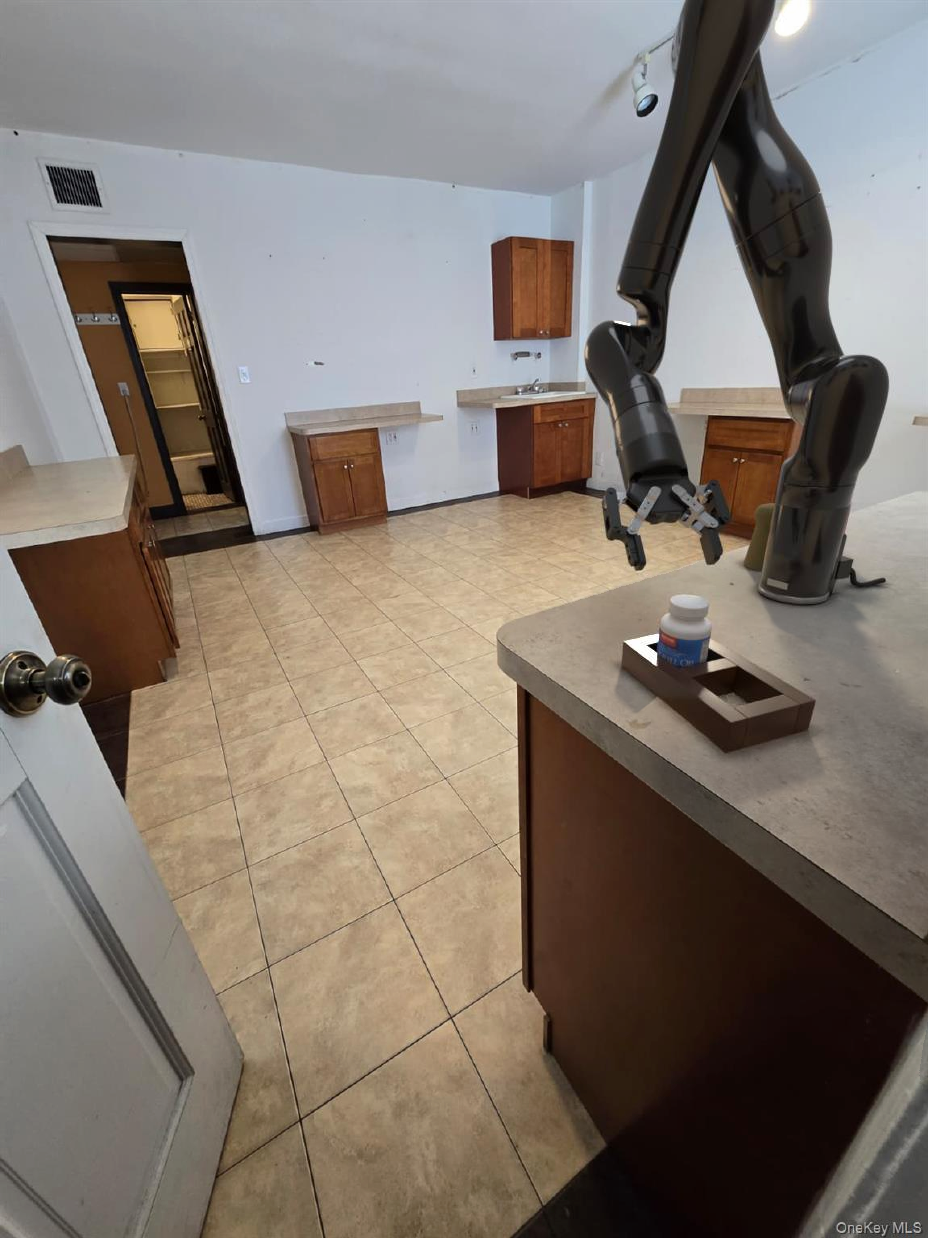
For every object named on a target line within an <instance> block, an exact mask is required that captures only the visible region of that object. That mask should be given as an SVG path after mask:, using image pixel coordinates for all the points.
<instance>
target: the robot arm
mask: <svg viewBox="0 0 928 1238" xmlns="http://www.w3.org/2000/svg"><path fill="white" fill-rule="evenodd" d="M776 1H777V0H684V2H683V5H682V7H681V11H680V13H679V17H678V20H677V24H676V28H675V30H674V34H673V37H672V38H673V39H672V42H671V49H670V64H671V65H670V66H671V67H670V68H671V73H672V76H673V86H672V92H671V98H670V102H669V105H668V109H667V114H666V118H665V122H664V126H663V130H662V133H661V137H660V141H659V144H658V147H657V150H656V154H655V157H654V159H653V163H652V166H651V169H650V172H649V175H648V178H647V181H646V183H645V187H644V190H643V192H642V195H641V199H640V201H639V205H638V208H637V210H636V213H635V216H634V220H633V222H632V226H631V230H630V233H629V236H628V239H627V244H626V247H625V251H624V254H623V258H622V261H621V265H620V269H619V273H618V277H617V279H616V285H615V292H616V295H617V296H618V297H619V298H620V299H621V300H623V301H625V302H626V303H628V304H630V305H631V306H632V307H633V308H634V310H635V317H636V324H633V323H628V322H623V321H619V320H612V319H611V320H609V319H608V320H604V321H602V322H600V323H598V324H597V325H595V327H594V328H593V329H592V330H591V331H590V333H589V335H588V337H587V339H586V341H585V346H584V350H583V351H584V353H583V359H584V360H583V361H584V366H585V371H587V375H588V377H589V379H590V381H591V383H592V384H593V387H594V388H595V390H596V391H597V393H598V394H599V396H600V398H601V400H602V401H603V402H604V403H605V405H606V407H607V409H608V411H609V417H610V421H611V425H612V430H613V436H614V438H613V439H614V448H615V456H616V458H617V461H618V464H619V465H618V466H619V470H620V474H621V478H622V483H623V486H624V489H625V491H617V489H616V488H615V487H607V489H606V491H605V493H604V495H603V498H602V500H601V508H602V517H603V523H604V530H605V537H606V539H607V540H608V541H611V542H613V541H620V542H622V543H623V545H624V549H625V554H626V558H627V563H628V565H629V566H630V567H631V568H632V567H633V568H634V571H635V572H639V571H643V570H644V568H645V567H646V566H647V557H646V553H645V549H644V545H643V541H642V537H641V534H638V532H639V530H640V529H641V528H642V525H643V523H644V522H646V523H649V524H650V525H651V526H654V525H658V524H661V523H666V524H676V523H677V522H679V523H680V524H681V525H682V526H683V527H685V528H686V529H691V530H693V531H694V532H695V533H696V534H698V535H699V543H700V546H701V551H702V553H703V557H704V561H705V564H706V565H707V566H711V565H712V566H714V565H715V564H717V563H718V562H719V560H720V559H721V556H722V555H724V548H723V544H722V541H721V538H720V534H719V533H721V532H722V531H723V530H724V529H725V527H727V526H728V524H729V523H731V521H732V520H733V516H732V514H731V511H730V508H729V506H728V503H727V501H726V498H725V495H724V493H723V489H722V487H721V484H720V482H719V481H718V480H717V479H714V478H711V479H710V480H709V481H708V483H706V484H705V483H704V484H699V485H695V484H694V483H693V482H692V481H691V479H690V476H689V468H688V464H687V460H686V457H685V454H684V450H683V447H682V442H681V440H680V436H679V432H678V430H677V429H678V428H677V426H676V423H675V420H674V418H673V416H672V414H671V412H670V410H669V409H670V408H669V406H668V403H667V399H666V396H665V391H664V389H663V386H662V383H661V381H660V379H659V378H658V377H656V376H655V374H656V373H657V371H658V370H659V368H660V366H661V365H662V362H663V359H664V355H665V351H666V345H667V334H668V321H669V320H668V319H669V313H670V312H669V311H670V301H671V293H672V288H673V285H674V282H675V278H676V276H677V274H678V270H679V266H680V264H681V261H682V257H683V253H684V252H685V248H686V245H687V241H688V239H689V234H690V233H691V228H692V225H693V221H694V218H695V215H696V213H697V208H698V205H699V202H700V199H701V195H702V191H703V188H704V185H705V182H706V178H707V175H708V172H709V169H710V166H711V167H712V170H713V173H714V178H715V181H716V185H717V189H718V193H719V196H720V200H721V203H722V206H723V210H724V213H725V217H726V220H727V223H728V226H729V230H730V233H731V236H732V237H731V238H732V240H733V243H734V246H735V250H736V253H737V255H738V259H739V262H740V264H741V267H742V270H743V273H744V276H745V278H746V280H747V283H748V285H749V288H750V290H751V291H750V292H751V294H752V296H753V299H754V302H755V305H756V308H757V311H758V313H759V317H760V319H761V321H762V324H763V327H764V329H765V331H766V334H767V337H768V339H769V342H770V346H771V349H772V353H773V357H774V361H775V368H776V371H777V376H778V381H779V387H780V392H781V396H782V400H783V401H782V402H783V405H784V408H785V410H786V411H785V412H786V413H787V415H788V417H790V419H791V420H792V421H793V422H794V423H795V424H797V425H798V426H800V427H802V431H801V435H800V438H799V442H798V446H797V449H796V451H795V452H794V453H793V454H792V456H790V457H789V458H787V459H785V460H784V461H783V462H782V465H781V468H780V472H779V478H778V482H777V483H778V484H777V488H776V493H775V494H776V495H775V499H774V503H775V504H774V510H773V515H772V520H771V526H770V531H769V536H768V541H767V547H766V552H765V557H764V562H763V567H762V571H761V573H760V578H759V581H758V586H757V591H758V592H759V594H760V595H762V596H764V597H765V598H768V599H771V600H773V601H777V602H781V603H785V604H786V603H787V604H792V605H793V604H794V605H815V604H816V605H817V604H821V603H824V602H826V601H827V600H828V599H829V597H830V596H832V595H833V594H834V590H835V585H836V582H837V580H838V581H839V580H844V579H849V582H850V584H851V585H852V586H854V587H856V588H869V587H873V586H876V585H881V584H885V583H886V582H887V579H886V578H885V577H879V578H875V579H871V580H869V581H865V582H861V581H858V580H857V579H858V578H857V573H856V570H855V569H854V568H853V564H854V558H850V557H847V556H844V555H843V554H844V551H845V547H846V543H847V539H848V535H847V534H846V533H844V530H845V526H846V522H847V518H848V519H849V517H848V514H849V515H850V513H849V510H850V511H851V508H850V506H851V507H852V503H851V501H852V500H853V497H854V493H855V487H856V485H857V480H858V477H859V474H860V472H861V470H862V469H863V467H864V466H865V465H866V463H867V462H868V460H869V458H870V456H871V454H872V452H873V449H874V446H875V442H876V439H877V437H878V436H877V435H878V432H879V429H880V426H881V423H882V420H883V416H884V413H885V409H886V406H887V403H888V397H889V392H890V376H889V372H888V369H887V367H886V365H885V364H884V363H883V362H882V360H880V359H878V358H877V357H875V356H872V355H869V354H845V353H844V351H843V349H842V347H841V345H840V341H839V339H838V337H837V334H836V330H835V327H834V324H833V320H832V318H831V317H832V316H831V311H830V303H829V301H830V299H829V298H830V283H831V275H832V267H833V266H832V265H833V251H834V249H833V246H834V245H833V233H832V228H831V223H830V222H831V221H830V219H829V215H828V212H827V208H826V204H825V201H824V197H823V194H822V192H821V191H822V190H821V187H820V184H819V181H818V179H817V176H816V174H815V172H814V170H813V168H812V167H811V165H810V164H809V162H808V159H807V157H805V155H804V154H803V152H802V151H801V149H800V148H799V147H798V146H797V144H796V143H795V141H794V140H793V139H792V137H791V136H790V134H789V133H788V132H787V131H786V130H785V127H783V124H781V121H780V120H779V118H778V115H777V114H776V111H775V109H774V105H773V102H772V100H771V97H770V93H769V92H770V91H769V89H768V83H767V79H766V75H765V71H764V67H763V62H762V61H763V60H762V56H761V49H760V48H761V45H762V43H763V42H764V40H765V38H766V36H767V34H768V31H769V28H770V26H771V22H772V19H773V17H774V12H775V10H776V9H775V8H776ZM695 498H697V499H698V500H696V499H695ZM623 504H624V505H626V506H627V507H628V508H629V509H630V510H632V511H633V512H634V513H635V515H634V516H633V518H632V520H631V521H630V523H629V525H628V526H627V525H622V519H621V513H620V509H621V507H622V505H623ZM688 511H690V513H691V514H690V515H689V514H688V513H687V512H688ZM847 523H848V522H847ZM846 527H847V526H846ZM845 531H846V530H845Z"/></svg>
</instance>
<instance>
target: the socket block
mask: <svg viewBox="0 0 928 1238" xmlns="http://www.w3.org/2000/svg"><path fill="white" fill-rule="evenodd" d="M658 637H659V633H656V634H651V635H645V636H642V637H638V638H632V639H627V640H623V641H622V652H621V653H622V654H621V667H622V668H623V669H624V670H626V671H627V672H628V673H629V674H630V675H631V676H633V678H635V679H636V680H637V681H638V682H640V683H641V684H642V685H643V686H645V688H647V689H648V690H650V692H652V693H653V694H654V695H655V696H657V697H658V698H659V699H660V700H661V701H662V702H664V703H665V704H666V705H667V706H668V707H670V708H671V709H672V710H673V711H674V712H675V713H676V714H678V715H679V716H681V717H682V718H683V719H684V720H685V721H686V722H687V723H688V724H690V725H691V726H692V727H694V728H695V729H696V730H697V731H698V732H699V733H701V734H702V735H703V736H704V737H706V738H707V739H708V740H709V741H710V742H711V743H713V744H714V745H715V746H716V747H717V748H719V749H720V750H721V751H722V752H724V753H725V754H727V753H731V752H735V751H737V750H741V749H745V748H749V747H751V746H752V747H753V746H755V745H759V744H762V743H765V742H770V741H773V740H777V739H780V738H784V737H787V736H791V735H794V734H797V733H802V732H805V731H808V730H809V729H810V726H811V721H812V717H813V714H814V710H815V706H816V702H817V700H816V699H815V698H813V697H812V696H810V695H808V694H807V693H805V692H803V691H802V690H799V689H798V688H796V687H795V686H793V685H791V684H789V683H788V682H786V681H784V680H783V679H781V678H779V677H778V676H775V675H774V674H772V673H770V672H769V671H767V670H766V669H764V668H762V667H760V666H759V665H758V664H756V663H754V662H752V661H751V660H749V659H747V658H745V657H743V656H742V655H740V654H739V653H737V652H735V651H733V650H732V649H731V648H728V647H727V646H725V645H723V644H721V643H720V642H718V641H716V640H715V639H713V638H711V637H710V642H709V648H708V654H707V660H706V663H701V664H697V665H693V666H688V667H684V668H680V669H678V668H677V667H676V666H674V665H673V664H671V663H670V662H669V661H667V660H666V659H664V658H663V657H662V656H660V655H659V654H657V645H658ZM729 694H730V695H731V694H734V695H735V696H737V697H738V698H740V699H742V700H743V701H745V702H746V703H745V704H742V705H738V706H731V705H730V704H729V703H727V702H726V701H724V700H723V699H721V698H720V697H721V696H722V697H723V696H726V695H729Z"/></svg>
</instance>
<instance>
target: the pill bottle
mask: <svg viewBox="0 0 928 1238" xmlns="http://www.w3.org/2000/svg"><path fill="white" fill-rule="evenodd" d="M709 606H710V602H709V600H708V599H706V598H704V597H702V596H699V595H696V594H695V595H694V594H676V595H673V596H672V597H670V599H669V604H668V613H665V614H664V615H663V616H662V618H661V619H660V623H659V630H658V634H659V637H658V645H657V654H659V655H660V656H662V657H663V658H664V659H666V660H667V661H669V662H670V663H671V664H673V665H674V666H676V667H677V668H678V669H680V668H684V667H688V666H693V665H697V664H701V663H706V660H707V654H708V648H709V642H710V638H711V636H712V631H713V630H712V629H713V626H712V622H711V621H710V620H709V618H707V616H708V614H709Z"/></svg>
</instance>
